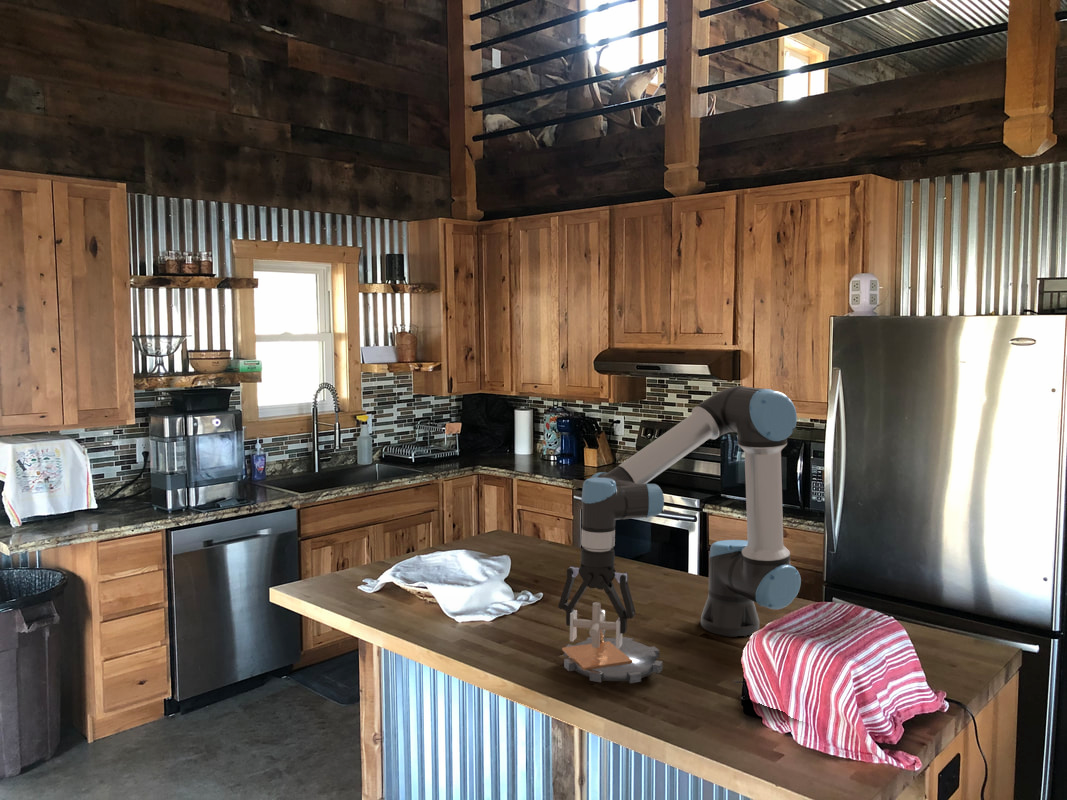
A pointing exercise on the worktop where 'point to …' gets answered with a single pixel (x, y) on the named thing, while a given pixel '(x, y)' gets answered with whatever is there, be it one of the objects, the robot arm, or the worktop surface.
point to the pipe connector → (595, 624)
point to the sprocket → (612, 659)
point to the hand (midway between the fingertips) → (595, 642)
